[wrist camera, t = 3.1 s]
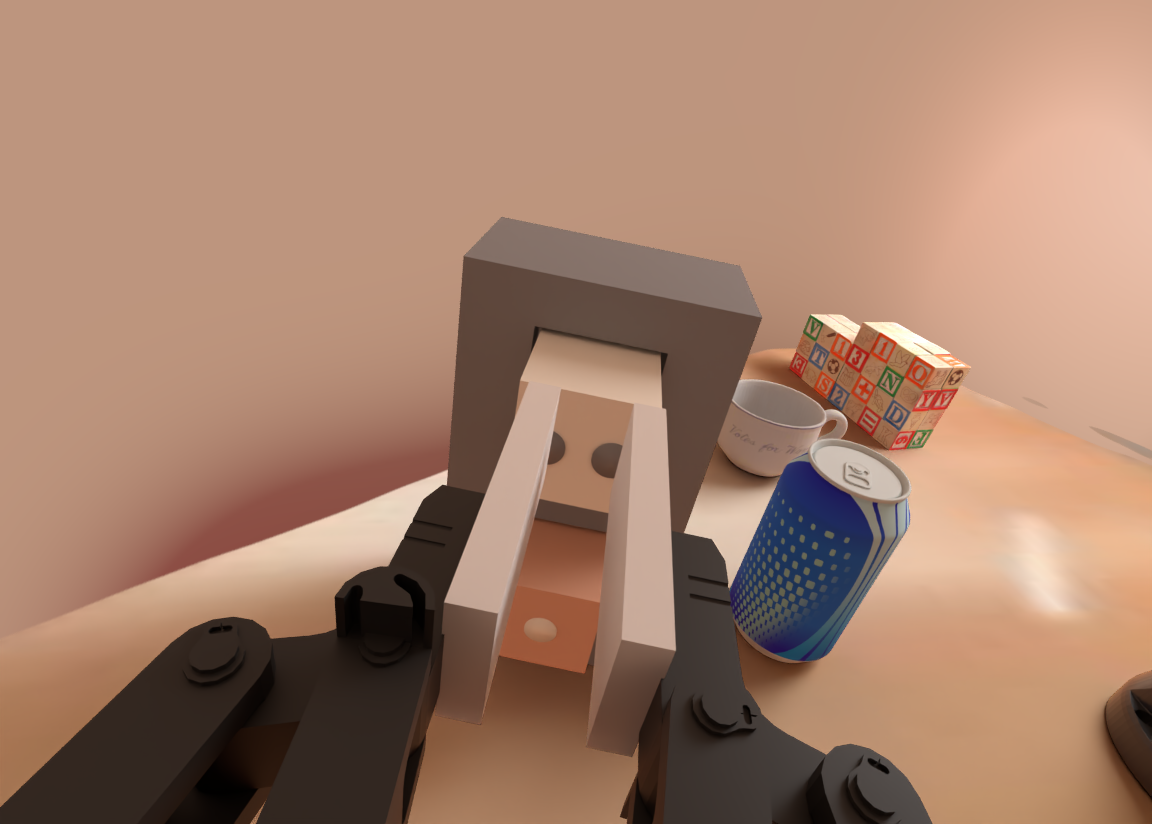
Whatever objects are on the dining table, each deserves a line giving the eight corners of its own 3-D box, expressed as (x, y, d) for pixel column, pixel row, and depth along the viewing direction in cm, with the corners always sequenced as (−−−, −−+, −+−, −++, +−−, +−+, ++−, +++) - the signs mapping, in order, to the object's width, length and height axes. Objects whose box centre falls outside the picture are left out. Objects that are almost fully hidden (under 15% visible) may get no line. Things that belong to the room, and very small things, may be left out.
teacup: (706, 474, 63) (729, 411, 59) (706, 423, 72) (726, 366, 68) (836, 507, 62) (869, 446, 58) (819, 451, 71) (846, 394, 67)
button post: (632, 674, 41) (762, 317, 27) (436, 632, 41) (463, 256, 27) (635, 586, 48) (740, 266, 34) (466, 551, 48) (501, 216, 34)
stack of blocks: (786, 369, 91) (817, 293, 85) (818, 368, 93) (850, 295, 87) (889, 451, 74) (936, 366, 68) (924, 448, 77) (973, 365, 70)
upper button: (630, 519, 27) (662, 411, 24) (503, 493, 27) (519, 381, 24) (634, 426, 34) (660, 333, 31) (533, 405, 34) (549, 310, 31)
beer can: (702, 599, 48) (769, 440, 40) (775, 573, 52) (850, 423, 44) (774, 688, 42) (871, 523, 34) (850, 651, 46) (953, 495, 38)
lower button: (584, 675, 34) (604, 605, 30) (481, 654, 34) (491, 582, 31) (595, 570, 41) (613, 504, 37) (510, 552, 41) (521, 485, 37)
